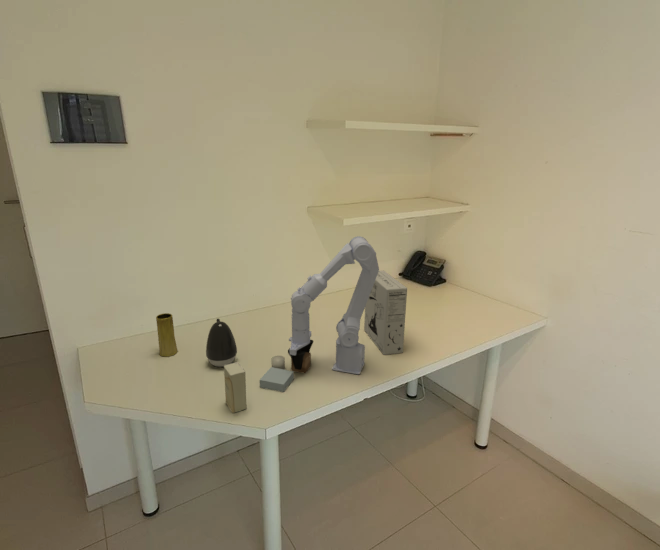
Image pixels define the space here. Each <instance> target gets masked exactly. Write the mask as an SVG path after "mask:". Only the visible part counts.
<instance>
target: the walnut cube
mask: <svg viewBox="0 0 660 550" xmlns="http://www.w3.org/2000/svg"><path fill="white" fill-rule="evenodd" d="M290 358H291V357H290ZM290 364H291V365H290V366H291V367H290V368H291V370H290V371H294V372H296V373H301V374H307V372H308V371H309V369H310V368H311V367H312V353H311V352H305V354H304V357H303V362H302V368H301V370H298V369H295V367H294V364H293V361H292V358H291V359H290Z"/></svg>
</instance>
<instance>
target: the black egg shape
mask: <svg viewBox="0 0 660 550" xmlns="http://www.w3.org/2000/svg"><path fill="white" fill-rule="evenodd" d="M215 320H216V322H214V323H213V324H212V325H211V326H210V329H209V332H208V336H207V340H206V346H205V356H206V358H207V360H208V362H209V363H210V364H211V365H212V366H215V367H223V368H224V365H228V364H231V363H234V360H235V358H236V356H237V353H238V347H237V344H236V339H235V337H234V334H233V332H232V329H231V328H230V326H229V325H228V324H227V323H226V322H224V321H221V319H220V318H216V319H215Z"/></svg>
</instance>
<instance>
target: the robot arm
mask: <svg viewBox="0 0 660 550" xmlns="http://www.w3.org/2000/svg"><path fill="white" fill-rule="evenodd" d="M355 261H356V262H357V263H358V264H359V265H360V267H361V271H360V274H359V276H358V280H357V283H356V285H355V288H354V290H353V293H352V296H351V299H350V301H349V304H348V307H347V310H346V312H344V314H343V315H342V318H341V319H340V320H339V321H337V324H336V327H335V329H336V332H337V334H338V335H337V336H338V337H337V339H336V340H335V362H334V364H333V366H332V367H331V370H332V371H337V372H341V373H342V372H343V373H348V374H353V375H360V374H361V372H362V371H363V368H364V366H365V363H366V362H365V357H366V356H365V353H366V351H365V349H366V345H365V344H363V343H361V342H359V339H360V338H359V337H360V336H359V331H360V330H361V329H360V328H361V318H362V316H363V313H364V312H365V306H366V303H367V301H368V298H369V295H370V293H371V290H372V288H373V285H374V282H375V280H376V277H377V274H378V272H379V271H380V267H379V263H378V259H377V252H376V250H375V249H374V248H373V246H372V245H371V244H370V243H369V241H368V240H367V239H366V238H365V237H364V236H360V235H357V236H355V237H353V238H351V239H350V241H349V242H347V243H345V245H343V246H342V248H341V249H340V250H339V252H338V253H337V254H336V255H335V256H334V257H333V258H332V259H331V261H330V262H329V263H328V264H327V265H326V266H325V267H324V268H323V269H322V271H321V272H320V273H314V274H312V275H309V276H308V277H307V281H306V282H305V283H303V285H302V286H300V287H297V290H296V291H294V292H293V293H292V295H291V297H290V304H291V336H290V337H289V338H288V341H289V342H290V347H289V348H288V350H287V354H288V355H289V357H290V358H292V361H293V364H294V367H295V369H298V370H301V368H302V362H303V357H304V354H305V352H309V353H311V348H312V346H313V344H314V340H313V339H311V337H312V331H311V329H310V313H309V311H310V308H311V303H312V302H313V301H314V300H316V299H317V297H319V296H320V294H322V292H323V291H324V290H325V289H327V288H328V281H329V280H330V279H331V278H332V277H334V276H335V275H336V274H337V273H338V272H339V271H340V270H341V269H342V268H343V267H344V266H346V265H355V264H356V262H355Z"/></svg>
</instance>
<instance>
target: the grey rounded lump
mask: <svg viewBox="0 0 660 550" xmlns="http://www.w3.org/2000/svg"><path fill="white" fill-rule="evenodd" d="M270 362H271V367H273V368H278V369H284V370H286V363H285V362H286V359H285V356H283V355H275V356H273V357H271V361H270Z"/></svg>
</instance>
